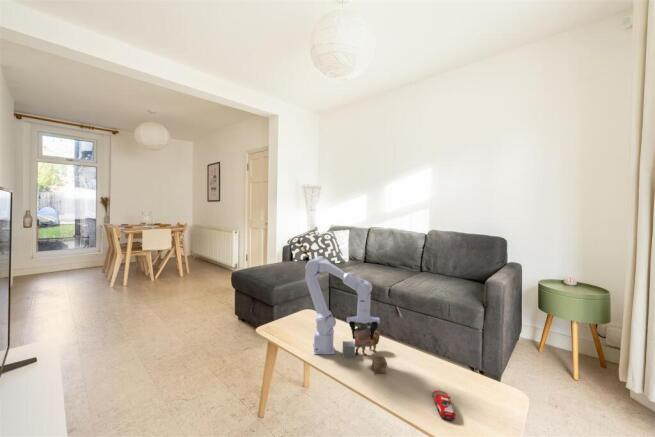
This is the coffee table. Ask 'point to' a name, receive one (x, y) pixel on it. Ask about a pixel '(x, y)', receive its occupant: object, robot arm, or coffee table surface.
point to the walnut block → (379, 365)
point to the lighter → (362, 335)
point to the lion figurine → (371, 343)
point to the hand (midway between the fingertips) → (362, 338)
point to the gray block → (348, 349)
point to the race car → (443, 405)
